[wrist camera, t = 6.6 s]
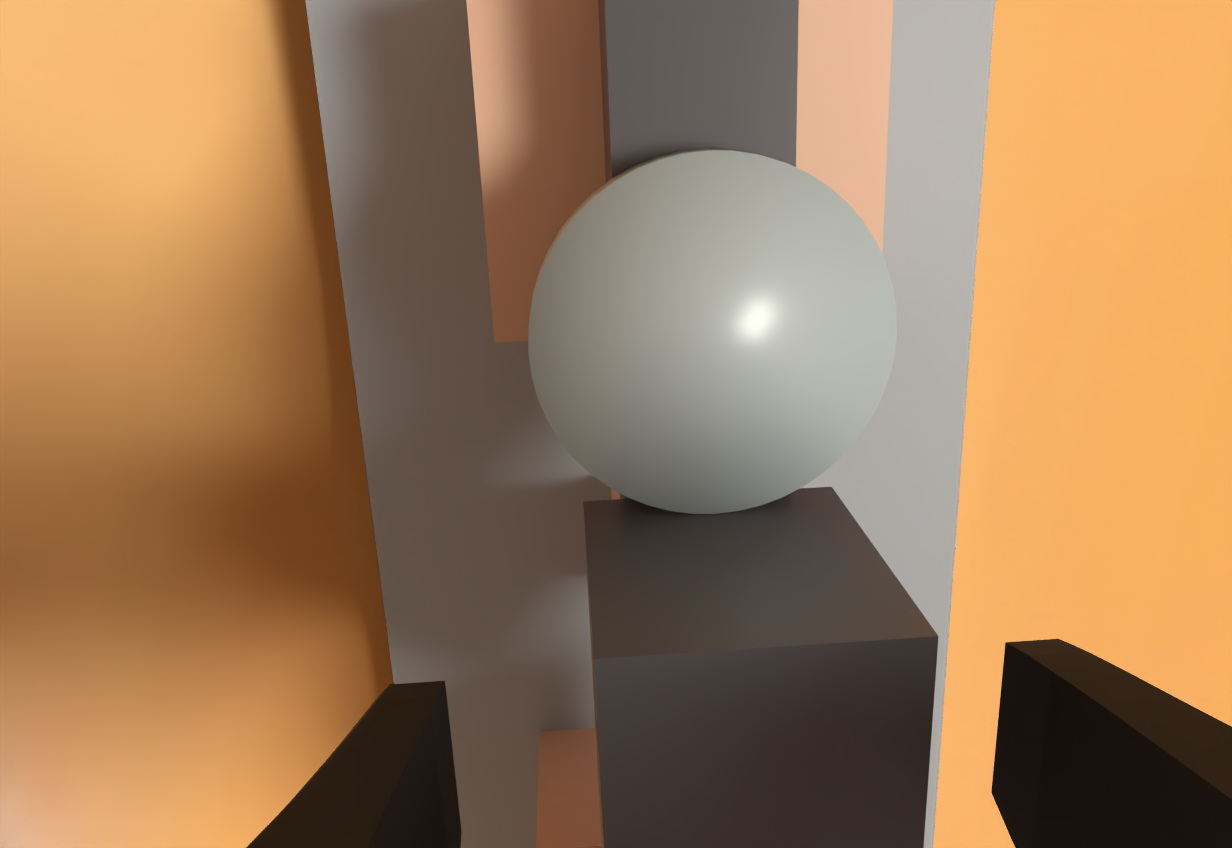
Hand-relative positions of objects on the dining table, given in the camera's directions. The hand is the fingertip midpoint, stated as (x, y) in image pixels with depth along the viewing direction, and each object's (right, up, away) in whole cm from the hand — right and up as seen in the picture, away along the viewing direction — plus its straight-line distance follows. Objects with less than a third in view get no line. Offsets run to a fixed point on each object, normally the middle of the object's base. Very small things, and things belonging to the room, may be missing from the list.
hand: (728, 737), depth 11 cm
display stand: (0, +2, +7) cm, 7 cm away
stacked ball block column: (0, +1, +3) cm, 3 cm away
